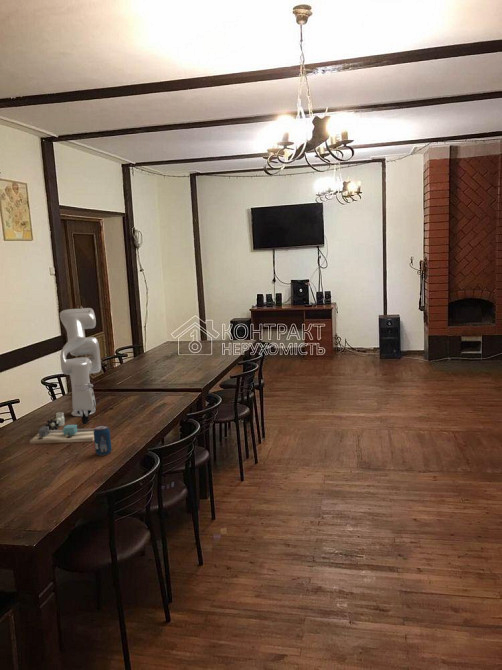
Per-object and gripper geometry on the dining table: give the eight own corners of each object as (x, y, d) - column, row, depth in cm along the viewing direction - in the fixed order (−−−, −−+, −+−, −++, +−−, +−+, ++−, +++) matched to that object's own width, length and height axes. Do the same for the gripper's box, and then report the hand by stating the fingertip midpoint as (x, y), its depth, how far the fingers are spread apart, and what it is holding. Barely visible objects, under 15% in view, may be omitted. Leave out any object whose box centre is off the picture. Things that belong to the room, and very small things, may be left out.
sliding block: (67, 431, 264) (66, 425, 263) (77, 431, 264) (76, 424, 263) (61, 437, 256) (60, 430, 255) (71, 437, 256) (71, 429, 255)
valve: (56, 424, 284) (46, 431, 272) (55, 411, 283) (45, 419, 271) (68, 423, 283) (59, 431, 271) (67, 411, 282) (57, 418, 270)
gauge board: (40, 435, 266) (39, 425, 266) (100, 432, 265) (99, 423, 265) (30, 443, 254) (28, 433, 254) (92, 441, 254) (91, 431, 253)
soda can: (105, 449, 242) (103, 423, 241) (115, 452, 238) (112, 426, 236) (92, 454, 237) (89, 428, 235) (101, 457, 233) (99, 430, 231)
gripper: (99, 384, 261) (103, 420, 264) (69, 385, 261) (73, 421, 265) (95, 388, 254) (98, 425, 257) (63, 389, 254) (67, 426, 257)
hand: (85, 423), depth 261 cm, fingers closed
